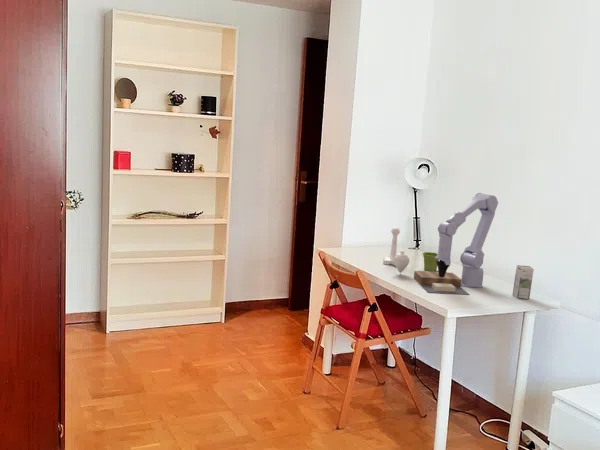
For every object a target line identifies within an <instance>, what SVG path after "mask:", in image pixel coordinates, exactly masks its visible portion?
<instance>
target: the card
mask: <svg viewBox="0 0 600 450" xmlns="http://www.w3.org/2000/svg"><path fill="white" fill-rule="evenodd" d="M432 288H433V289H434V290H435V291H451V292H455V288H456V287H454V286H453V285H452V284H443V283H432Z"/></svg>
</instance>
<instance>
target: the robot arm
mask: <svg viewBox="0 0 600 450" xmlns="http://www.w3.org/2000/svg"><path fill="white" fill-rule="evenodd" d="M498 204H499V201H498V198H497V196H496V195H491V194H485V193H482V192H478V193H476V194H475V195H474V196H473V197H472V198H471V201H470V202H469V203H468V204H467V205H466V206H465V207H464V208H462V210H461V211H455V212H454V213H453V215H452V216H450V217H449V218H447V220H446V221H442V222H441V223H439V225H438V227H437V232H438V236H439V239H438V240H439V241H438V248H437V253H438V254H437V257H435V259H439V261H436V263H437V269H438V271H437V272H439V277H444V276H445V274H446V272H447V270H448V268H450V266H451V265H452V264H451V253H452V247H453V246H452V245H453V237H454V235H455V234H456V233H457V230H458V228H459V227H461V226H462V225H463V224H464V223H465V222H466V219H467V217H468V216H470V215H471V214H473V213H474V212H475V211H477V210H478V211H479V212H480V214H481V216H480V219H479V221H478V224H477V226H476V229H475V232H474V235H473V237H472V239H471V243H470V244H469V246H467V247H465V248H464V250H463V252H462V253H461V255H460V262H461V266H462V271H461V278H460V279H462V280H461V286H462V287H466V288H483V280H484V269H483V267H482V266H483V264H484V256H485V253H484V252H483V246H484V243H485V241H486V238H487V236H488V233H489V230H490V228H491V226H492V223H493V220H494V217H495V215H496V210H497V207H498Z"/></svg>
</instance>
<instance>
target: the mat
mask: <svg viewBox="0 0 600 450" xmlns="http://www.w3.org/2000/svg"><path fill="white" fill-rule="evenodd" d="M420 287H421V288H423V290H424V291H426V292H427V294H428V293H429V294H444V295H445V294H448V295H463V296H464V295H465V296H469V295H470V294H469V293H468V292H467V290H465V289H464V288H462V287H456V288H455V292H451V291H435V290H434V289H433V288H432V286H429V285H420Z"/></svg>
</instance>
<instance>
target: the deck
mask: <svg viewBox="0 0 600 450" xmlns="http://www.w3.org/2000/svg"><path fill="white" fill-rule="evenodd" d="M413 279H414V281H416V282H417V283H418V285H420V286H421V285H429V286H432V283H443V284H452V285H453V286H454V287H461V286H462V285H461V280H462V279H461V278H460V277H459V276H457V274H455V273H454V272H447V271H446V274H445V276H444V277H439V272H438V271H435V272H431V271H426V270H414V272H413ZM461 288H462V287H461Z"/></svg>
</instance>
